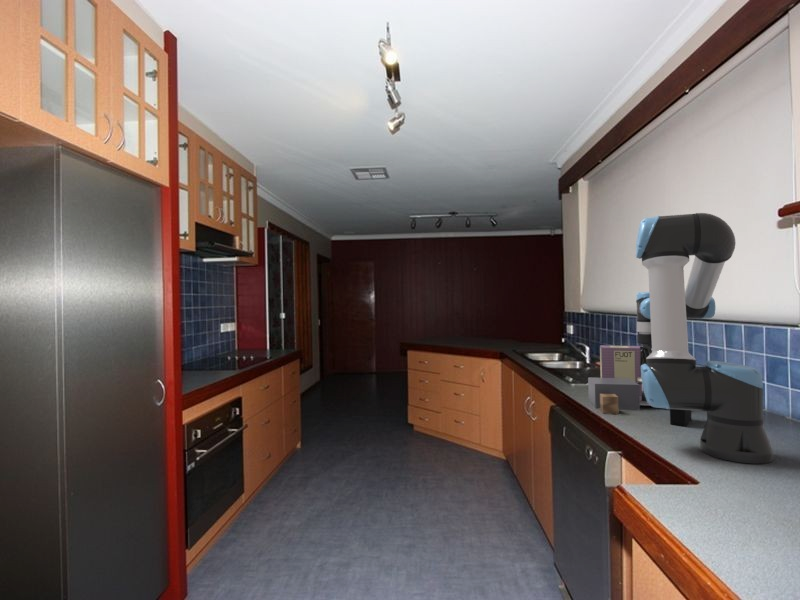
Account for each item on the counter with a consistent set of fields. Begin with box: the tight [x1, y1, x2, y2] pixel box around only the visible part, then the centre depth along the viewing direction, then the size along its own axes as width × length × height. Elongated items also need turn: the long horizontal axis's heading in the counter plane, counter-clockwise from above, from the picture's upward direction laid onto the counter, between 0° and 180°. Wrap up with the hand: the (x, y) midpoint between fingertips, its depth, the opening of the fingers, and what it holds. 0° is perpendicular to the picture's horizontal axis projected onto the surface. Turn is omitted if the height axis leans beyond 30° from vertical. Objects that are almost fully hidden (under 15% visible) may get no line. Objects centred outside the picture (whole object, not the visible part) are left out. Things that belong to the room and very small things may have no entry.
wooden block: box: [599, 394, 619, 415], centre depth 158 cm, size 5×5×6 cm
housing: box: [587, 377, 641, 411], centre depth 169 cm, size 15×14×9 cm
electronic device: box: [669, 409, 692, 427], centre depth 143 cm, size 4×10×10 cm, turn 137°
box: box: [599, 344, 642, 397], centre depth 188 cm, size 17×9×20 cm, turn 69°
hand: (649, 393), depth 166 cm, fingers closed on disc, 8 cm apart
